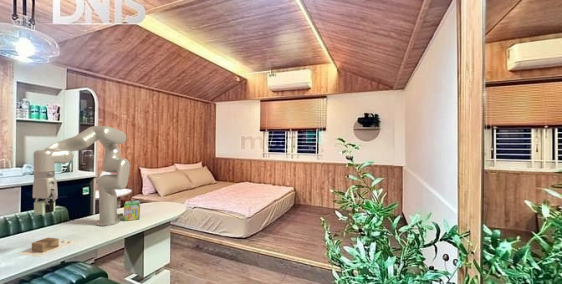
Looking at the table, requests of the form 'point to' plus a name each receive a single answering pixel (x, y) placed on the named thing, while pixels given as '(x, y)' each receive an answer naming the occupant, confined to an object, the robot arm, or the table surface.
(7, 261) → the table surface
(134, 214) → the chalk box
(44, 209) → the sage block
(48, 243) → the walnut block
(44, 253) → the snap baseplate
